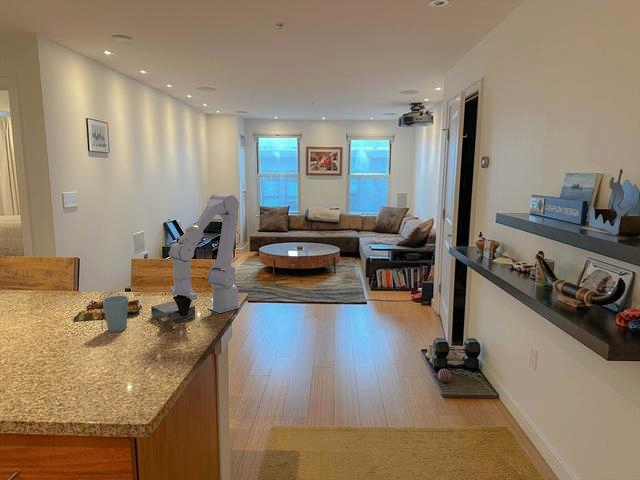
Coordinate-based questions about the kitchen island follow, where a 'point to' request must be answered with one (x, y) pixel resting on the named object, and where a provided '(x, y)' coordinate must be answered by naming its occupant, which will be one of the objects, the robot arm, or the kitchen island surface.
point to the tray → (177, 315)
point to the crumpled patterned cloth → (98, 310)
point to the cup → (116, 312)
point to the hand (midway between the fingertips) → (184, 315)
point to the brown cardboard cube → (166, 324)
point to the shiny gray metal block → (169, 311)
